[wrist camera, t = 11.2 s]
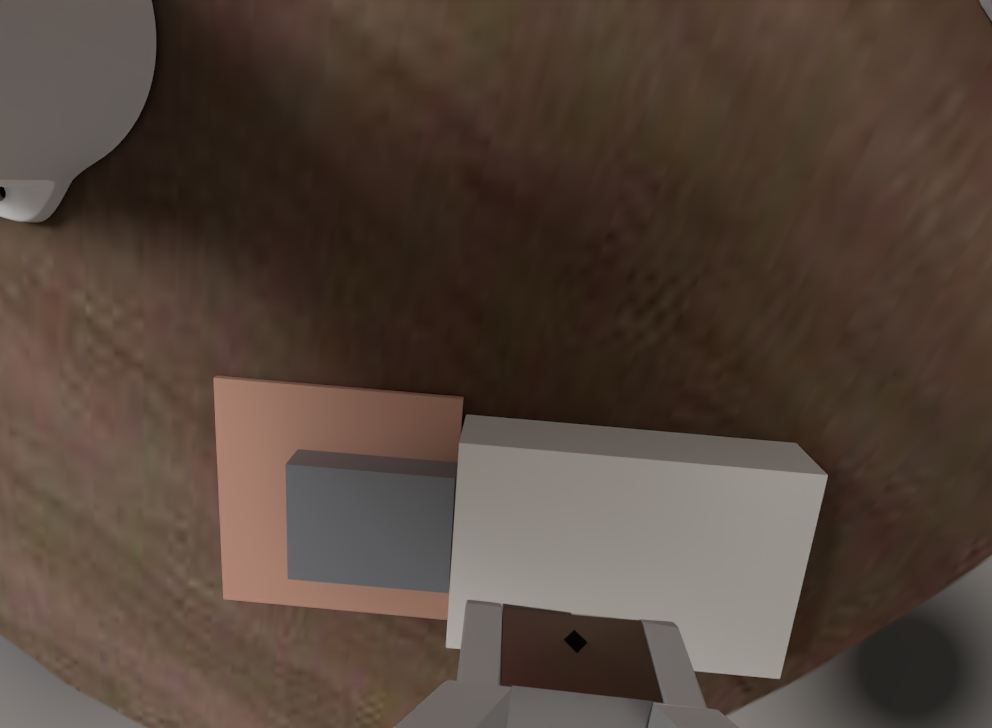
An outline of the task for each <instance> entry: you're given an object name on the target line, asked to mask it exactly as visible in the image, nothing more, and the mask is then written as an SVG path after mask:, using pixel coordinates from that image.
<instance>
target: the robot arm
mask: <svg viewBox="0 0 992 728" xmlns="http://www.w3.org/2000/svg"><path fill="white" fill-rule="evenodd" d="M155 59H156V26H155V17H154V11H153V5H152V1H151V0H0V187H3V188H4V189H5V191H6V196H5V198H3V197H2V196H1V194H0V217H3V218H6V219H10V220H14V221H19V222H42V221H44V220H46V219H47V218H49V217H50V216H51V215H52V214H53V212H54V211H55V210H56V208H57V207H58V205H59V204H60V202H61V200H62V199H63V197H64V195H65V193H66V191H67V189H68V188H69V186H70V184H71V182H72V180H73V179H74V178H75V177H76V176H77V175H78V174H80V173H81V172H82V171H83V170H85V169H86V168H88V167H89V166H91V165H92V164H94V163H95V162H97V161H98V160H100V159H101V158H103V157H104V156H106V155H107V154H108V153H109V152H111V151H112V150H113V149H114V148H115V147H116V146H117V145H118V144H119V143H120V142H121V141H122V140H123V139H124V138H125V136H126V135H127V134H128V132H129V131H130V130H131V128H132V127H133V125H134V124H135V122H136V120H137V119H138V117H139V115H140V113H141V111H142V109H143V107H144V104H145V102H146V100H147V97H148V94H149V91H150V87H151V83H152V79H153V74H154V68H155ZM394 728H738V727H737V726H736V725H735V724H734V723H732V722H731V721H730V720H729V719H728V718H727V717H726V716H724V715H723V714H722V713H721V712H720V711H719V710H715V709H707V706H706V704H705V701H704V698H703V695H702V692H701V690H700V687H699V684H698V681H697V678H696V676H695V673H694V670H693V667H692V664H691V662H690V659H689V656H688V653H687V650H686V648H685V645H684V642H683V639H682V636H681V634H680V631H679V628H678V626H677V625H676V624H675V623H674V622H669V621H657V620H644V619H639V620H632V619H622V618H612V617H603V616H593V615H583V614H573V613H571V612H563V611H556V610H548V609H541V608H533V607H526V606H518V605H511V604H503V605H501V603H494V602H485V601H477V600H467V603H466V606H465V614H464V623H463V632H462V640H461V649H460V657H459V666H458V674H457V681H453V680H446V681H444V682H443V683H442V684H441V685H440V686H439V687H438V688H437V689H436V690H434V691H433V692H432V693H431V694H430V695H429V696H428V697H427V698H426V699H425V700H423V701H422V702H421V703H420V704H419V705H418V706H417V707H416V708H415V709H413V710H412V711H411V712H410V713H409V714H408V715H407V716H406V717H405V718H404V719H402V720H401V721H400V722H399V723H398V724H397V725H396V726H395V727H394Z"/></svg>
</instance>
